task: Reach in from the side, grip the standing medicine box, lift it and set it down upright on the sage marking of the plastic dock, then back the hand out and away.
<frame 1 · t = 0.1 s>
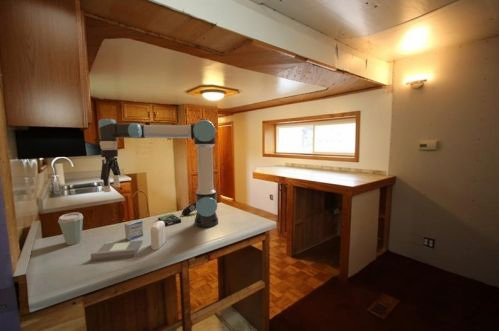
hand: (112, 189, 121), 28 cm above the kitchen counter, tool pointing down, fingers open, 13 cm apart
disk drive: (169, 222, 152), on the kitchen counter
dock: (118, 251, 111), on the kitchen counter
medicine box: (134, 237, 127), on the kitchen counter
gun: (191, 214, 166), on the kitchen counter
disposable coffee cup: (73, 242, 120), on the kitchen counter
photo printer: (158, 245, 117), on the kitchen counter
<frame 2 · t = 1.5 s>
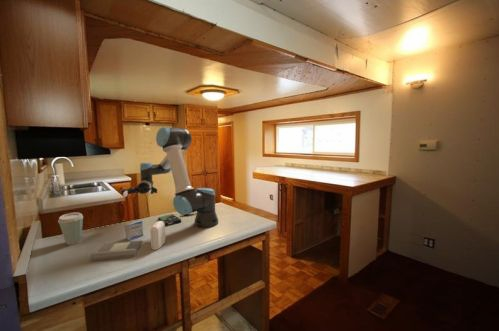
hand: (136, 194, 133), 22 cm above the kitchen counter, tool horizontal, fingers open, 13 cm apart
nothing on the kitchen counter moved.
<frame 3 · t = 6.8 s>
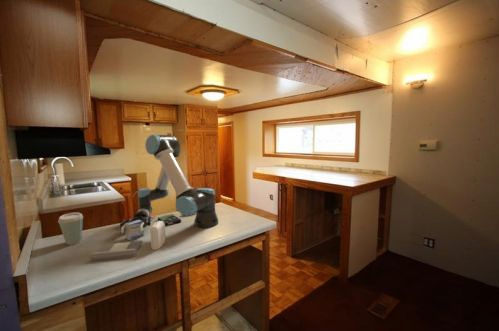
hand: (131, 229, 122), 6 cm above the kitchen counter, tool horizontal, fingers closed on medicine box, 8 cm apart
medicine box: (134, 237, 127), on the kitchen counter, touching gripper
everything else where it was.
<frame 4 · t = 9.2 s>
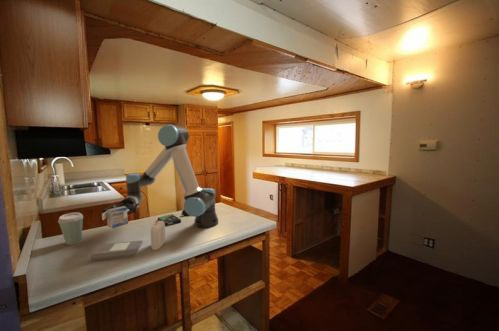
hand: (113, 216, 107), 18 cm above the kitchen counter, tool horizontal, fingers closed on medicine box, 8 cm apart
medicine box: (118, 225, 112), point 12 cm above the kitchen counter, touching gripper
everything else where it was.
when the fingers open (9 cm above the kitchen counter, at t = 12.0 s): medicine box drops 1 cm, resting on dock.
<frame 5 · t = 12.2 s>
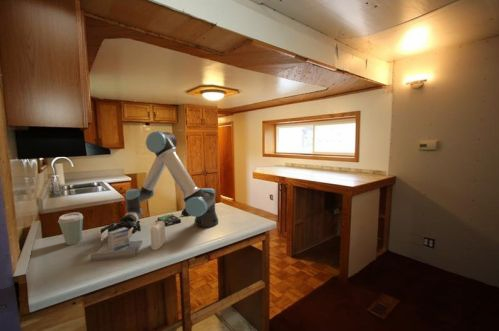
hand: (115, 236, 107), 9 cm above the kitchen counter, tool horizontal, fingers open, 11 cm apart
medicine box: (119, 247, 112), point 1 cm above the kitchen counter, touching dock
everything else where it was.
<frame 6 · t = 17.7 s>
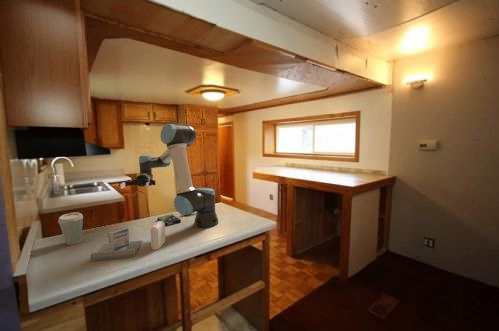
hand: (133, 186, 128), 28 cm above the kitchen counter, tool horizontal, fingers open, 13 cm apart
nothing on the kitchen counter moved.
at the end: medicine box inside the target area on the dock (0.1 cm from its centre), point 1.2 cm above the dock's base; medicine box tilted 0°; the gripper is holding nothing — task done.
